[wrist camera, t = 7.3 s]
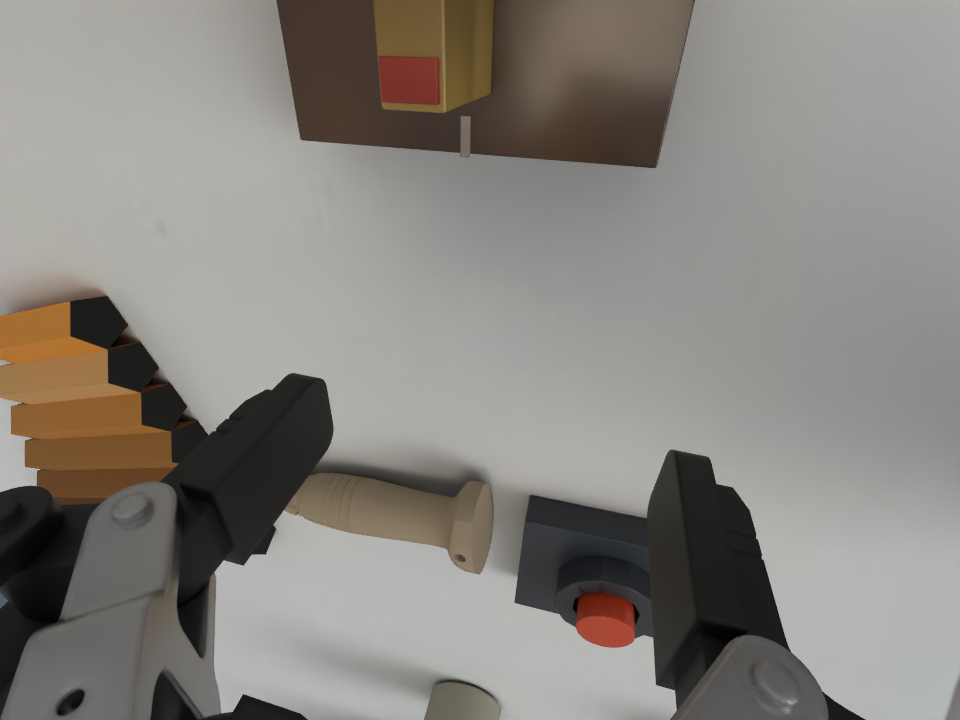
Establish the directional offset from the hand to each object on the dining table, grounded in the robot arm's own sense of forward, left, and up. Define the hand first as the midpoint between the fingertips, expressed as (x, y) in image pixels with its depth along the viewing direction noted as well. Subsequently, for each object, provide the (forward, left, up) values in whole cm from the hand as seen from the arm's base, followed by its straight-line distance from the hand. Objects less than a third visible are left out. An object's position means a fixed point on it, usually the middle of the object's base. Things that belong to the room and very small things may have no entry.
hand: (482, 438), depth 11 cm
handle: (+17, +21, -12) cm, 30 cm away
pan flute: (+37, +22, -14) cm, 45 cm away
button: (-7, +23, -10) cm, 26 cm away
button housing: (-7, +23, -14) cm, 28 cm away
